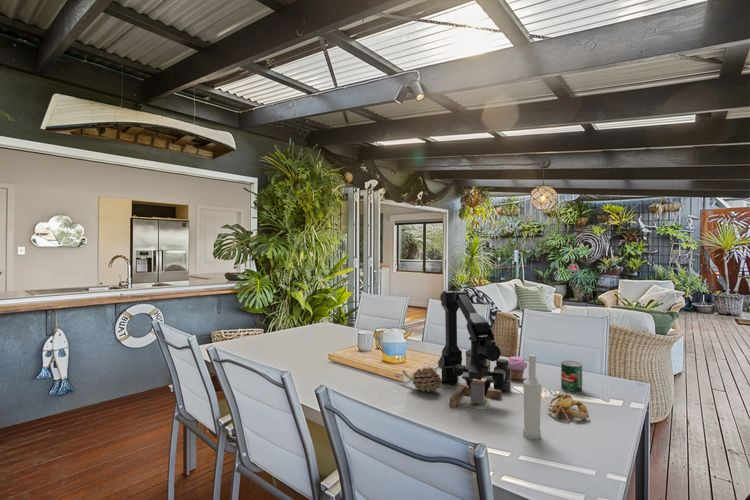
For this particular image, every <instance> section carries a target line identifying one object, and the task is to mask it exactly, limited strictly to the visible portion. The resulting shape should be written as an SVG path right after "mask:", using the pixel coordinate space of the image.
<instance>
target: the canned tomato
mask: <svg viewBox="0 0 750 500" xmlns="http://www.w3.org/2000/svg"><path fill="white" fill-rule="evenodd" d="M560 367H561V368H560V373H561V374H560V377H561V378H560V381H561V382H560V384H561V386H560V387H561V388H560V390H562V391H563V392H565V393H567V394H568V393H569V394H573V395H575V394H577V395H578V394H582V393H583V364H582V362H578V361H572V360H563V361H560Z"/></svg>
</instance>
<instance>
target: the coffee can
mask: <svg viewBox="0 0 750 500" xmlns="http://www.w3.org/2000/svg"><path fill="white" fill-rule="evenodd" d="M470 362H471V349H468V350H465V366H466V369H469V365H470ZM487 366H488V371H491V361H490V360H488V359H487ZM482 378H485V379H487V376H483V377H482ZM465 385H467V386H468V384H467V382H466V381H465ZM489 389H491V384H490V386H489Z"/></svg>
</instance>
